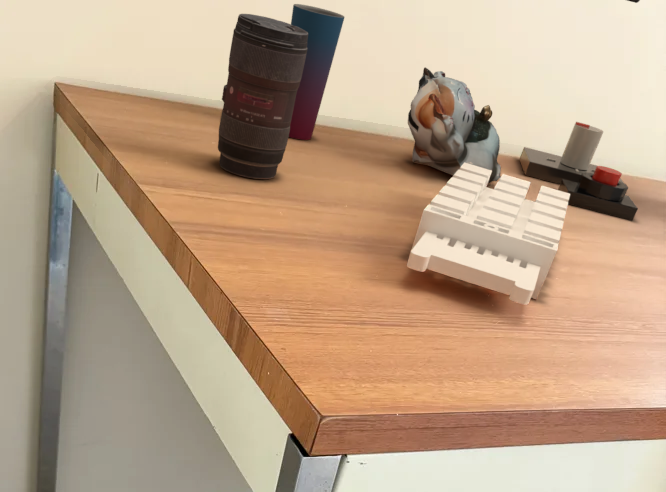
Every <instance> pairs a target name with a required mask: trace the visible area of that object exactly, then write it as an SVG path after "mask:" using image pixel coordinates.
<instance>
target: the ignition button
mask: <svg viewBox="0 0 666 492" xmlns="http://www.w3.org/2000/svg"><path fill="white" fill-rule="evenodd" d="M622 175H623V173H622V172H620V171H619V170H616V169H614V168H611V167H608V166H602V165H597V167H596V169H595V172H594V174H593V176H592V178H593V179H595V180H597V181H600V182H603V183H607V184H610V185H617V184H618V182H619V180H620V178H622Z"/></svg>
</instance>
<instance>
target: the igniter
mask: <svg viewBox="0 0 666 492" xmlns="http://www.w3.org/2000/svg"><path fill="white" fill-rule="evenodd" d="M593 174H594V173H588V172H585V173H582V174H581V176H580V179H579V181H578V183H576V182H573V181H569V180H565V179H562V181H561V183H560V184H559V186H558V188H557V190H559V191H563V192H566V193H569V194H570V198H569V201H568V205H570V206H573V207H578V208H581V209H586V210H589V211H592V212H593V211H594V212H598V213H601V214H605V215H609V216H613V217H617V218H620V219H625V220H628V221H631V222H632V221H634V218H635V216H636V214H637V212H638V210H639V208H638V206H637V205H636V203H634V201H633V200H632V198H631V197H630V195H627V193H628V192H627V191H628V189H629V186H628V185H627V184H626V183H625V182H624V183H622V182H620V181H619V182H618V184H617V185H610V184H607V183H603V182H600V181H597V180H595V179H593V178H592V176H593Z"/></svg>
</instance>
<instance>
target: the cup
mask: <svg viewBox="0 0 666 492" xmlns="http://www.w3.org/2000/svg"><path fill="white" fill-rule="evenodd" d="M290 20H291V21H290V24H291V25H293V26H296V27H299V28H301V29H303V30H305V31H306V32H308V40H307V48H308V49H307V54H306V58H305V63H304V68H303V73H302V78H301V81H300V85H299V87H298V90H297V93H296V98H295V103H294V109H293V114H292V119H291V124H290V132H289V137H288V138H291V139H296V140H300V141H301V140H302V141H309V140H311V139H312V137H313V133H314V129H315V127H316V123H317V119H318V116H319V113H320V112H319V111H320V108H321V104H322V100H323V97H324V94H325V89H326V86H327V83H328V79H329V75H330V72H331V68H332V65H333V61H334V57H335V53H336V50H337V47H338V43H339V39H340V35H341V32H342V28H343V24H344V20H345V15H343V14H341V13H338V12H335V11H332V10H328V9H325V8H321V7H316V6H312V5H308V4H300V3H293V6H292V13H291V19H290Z"/></svg>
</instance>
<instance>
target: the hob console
mask: <svg viewBox="0 0 666 492" xmlns="http://www.w3.org/2000/svg"><path fill="white" fill-rule="evenodd" d="M561 158H562V155H558V154H553V153H549V152H547V151H546V152H545V151H543V150H542V151H541V150H538V149H534V148H530V147H526V146H524V147H523V148H522V151H521V153H520V156H519V163H520V165H521V168H522V171H523V174H524V176H526V177H531V178H535V179H538V180H541V181H546V182H549V183H554V184H558V185H560V183H561V181H562V179H565V180H569V181H573V182H576V183H578V181H579V179H580V176H581V174H582V173H585V172H588V173H594V172H595V169H596V167H597V166H598V165H596V164H592V163H590V165H589V168H588V170H579V169H575V168H572V167H569V166H566V165H564V164H562V163H561V162H560V160H561ZM619 181H620V182H622V183H624V184H625V182H624V181H623V180H622V177H620V180H619Z"/></svg>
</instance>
